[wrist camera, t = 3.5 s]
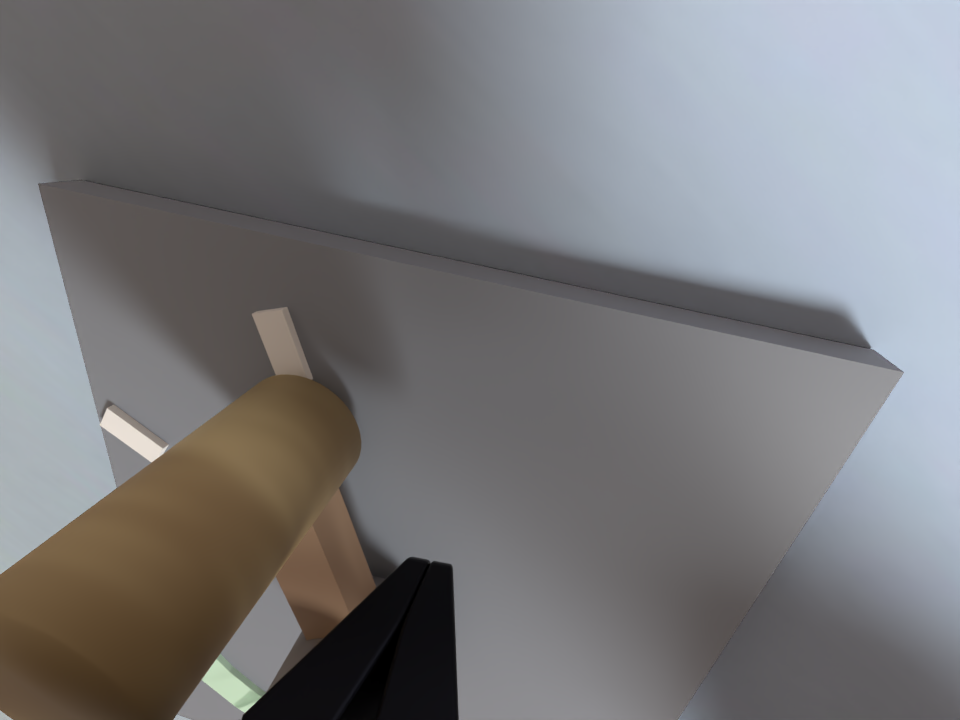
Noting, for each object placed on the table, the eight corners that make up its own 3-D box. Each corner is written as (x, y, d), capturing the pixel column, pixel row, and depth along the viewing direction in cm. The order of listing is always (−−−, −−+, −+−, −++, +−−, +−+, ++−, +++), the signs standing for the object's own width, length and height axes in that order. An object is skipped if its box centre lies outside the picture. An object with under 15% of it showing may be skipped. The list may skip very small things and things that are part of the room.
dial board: (873, 349, 9) (910, 377, 8) (586, 827, 19) (586, 867, 18) (51, 174, 11) (-3, 177, 10) (176, 684, 21) (155, 712, 20)
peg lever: (459, 672, 14) (379, 1003, 9) (344, 661, 15) (208, 950, 10) (363, 363, 10) (106, 619, 5) (215, 377, 11) (-133, 600, 6)
